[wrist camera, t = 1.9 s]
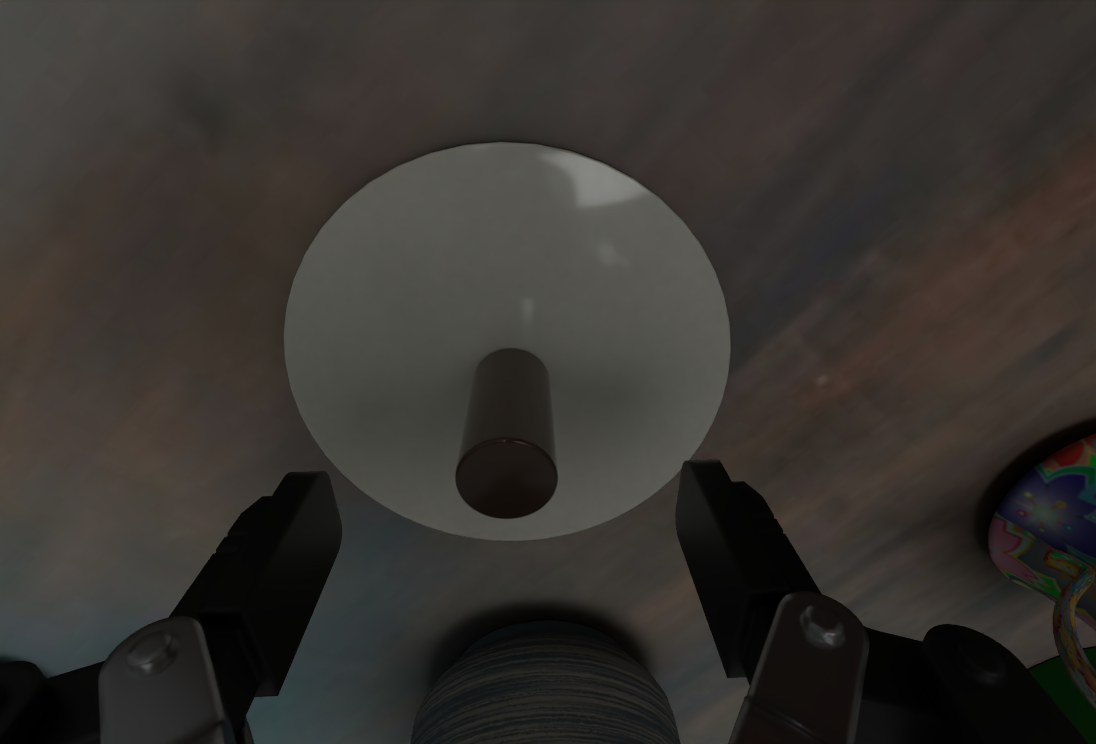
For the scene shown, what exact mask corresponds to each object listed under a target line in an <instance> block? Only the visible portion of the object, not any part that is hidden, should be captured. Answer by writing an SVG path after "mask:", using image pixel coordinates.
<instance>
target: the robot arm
mask: <svg viewBox="0 0 1096 744" xmlns="http://www.w3.org/2000/svg"><path fill="white" fill-rule="evenodd" d="M676 529H677V535H678V539H679V542H680V545H681V548H682V551H683V553H684V556H685V559H686V562H687V565H688V568H689V570H690V573H691V576H692V579H693V582H694V585H695V587H696V590H697V593H698V596H699V599H700V602H701V604H702V607H703V610H704V613H705V616H706V619H707V621H708V624H709V627H710V630H711V633H712V636H713V638H714V641H715V644H716V647H717V650H718V653H719V656H720V658H721V661H722V664H723V667H724V670H725V673H726V675H727V678H737V677H747V680H748V682H749V685H750V688H749V691H748V693H747V696H746V697H745V698H744V701H743V703H742V706H741V709H740V712H739V714H738V717H737V720H736V723H735V726H734V729H733V731H732V734H731V737H730V740H729V743H728V744H1088V742H1087V741H1086V740H1085V739H1084V737H1083V736H1082V735H1081V734H1080V733H1079V731H1078V730H1077V729H1076V728H1075V727H1074V725H1073V724H1072V723H1071V722H1070V721H1069V719H1068V718H1067V717H1066V716H1065V714H1064V713H1063V712H1062V711H1061V710H1060V708H1059V707H1058V706H1057V705H1056V704H1055V702H1054V701H1053V700H1052V699H1051V698H1050V696H1049V695H1048V694H1047V693H1046V691H1045V690H1044V689H1043V688H1042V687H1041V685H1040V684H1039V683H1038V682H1037V681H1036V679H1035V678H1034V677H1033V676H1032V675H1031V673H1030V672H1029V671H1028V670H1027V669H1026V667H1025V666H1024V665H1023V664H1022V663H1021V662H1020V661H1019V659H1018V658H1017V657H1016V656H1014V655H1013V654H1012V653H1011V652H1010V651H1009V650H1008V649H1006V648H1005V647H1004V646H1002V645H1001V644H1000V643H998V642H996V641H995V640H993V639H992V638H990V637H988V636H986V635H984V634H982V633H980V632H978V631H975V630H973V629H970V628H967V627H964V626H959V625H952V624H943V625H938V626H935V627H933V628H931V629H930V630H929V631H928V632H927V633H926V635H925V637H924V639H923V641H918V640H914V639H909V638H905V637H901V636H897V635H893V634H889V633H884V632H880V631H877V630H873V629H870V628H867V627H865V626H863V625H862V623H861V622H860V620H859V619H858V618H857V617H856V616H855V615H854V614H853V613H852V612H851V611H850V610H849V609H848V608H847V607H845V606H844V605H843V604H841V603H839V602H838V601H836V600H834V599H832V598H830V597H828V596H825V595H823V594H821V592H820V591H819V589H818V587H817V586H816V584H815V582H814V581H813V579H812V577H811V576H810V574H809V572H808V571H807V569H806V567H805V566H804V564H803V562H802V561H801V559H800V558H799V556H798V554H797V553H796V551H795V549H794V548H793V546H792V544H791V543H790V541H789V539H788V538H787V536H786V534H783V529H782V528H781V526H780V525H779V523H778V521H777V520H776V519H774V515H773V513H772V511H771V510H770V508H769V506H768V505H767V503H766V501H765V500H764V498H763V497H762V496H761V495H760V494H759V493H757V492H756V491H755V490H754V489H753V488H751V487H750V486H749V485H748V484H746V483H745V482H744V481H743V482H732V481H731V480H730V478H729V476H728V474H727V472H726V470H725V469H724V467H723V465H722V463H721V462H720V461H719V460H687V461H684V463H683V465H682V470H681V477H680V484H679V492H678V499H677V506H676ZM227 534H228V535H227V537H224V539H223V540H222V542H221V543H220V544H219V546H218V547H217V549H216V553H215V554H213V555H212V556H211V557H210V559H209V560H208V562H207V563H206V565H205V566H204V567H203V569H202V570H201V572H200V573H199V575H198V576H197V577H196V579H195V580H194V582H193V583H192V585H191V586H190V587H189V589H188V590H187V592H186V593H185V595H184V596H183V597H182V599H181V600H180V602H179V603H178V605H177V606H176V607H175V609H174V610H173V612H172V613H171V615H170V616H169V617H168V618H164V619H161V620H158V621H156V622H153V623H151V624H148V625H147V626H145V627H143V628H141V629H139V630H138V631H136V632H135V633H133V634H131V635H130V636H129V637H128V638H126V639H125V640H124V641H123V642H121V643H120V644H119V645H118V646H117V647H116V648H115V649H114V650H113V652H112V653H111V654H110V655H109V656H108V658H107V659H106V661H103V662H100V663H96V664H93V665H90V666H87V667H83V668H80V669H77V670H73V671H70V672H67V673H64V674H60V675H57V676H54V677H50V678H47V679H46V677H45V676H44V675H43V674H42V672H41V671H40V670H39V668H38V667H37V666H36V665H35V664H33V663H31V662H26V661H14V662H8V663H4V664H1V665H0V744H254V741H253V737H252V734H251V730H250V726H249V723H248V721H247V718H246V714H247V712H248V710H249V708H250V705H251V703H252V701H253V699H254V697H265V696H278V695H279V692H280V690H281V687H282V685H283V683H284V680H285V678H286V675H287V673H288V671H289V668H290V666H291V664H292V661H293V659H294V656H295V654H296V652H297V649H298V647H299V645H300V642H301V640H302V637H303V635H304V633H305V630H306V628H307V626H308V623H309V621H310V618H311V616H312V614H313V611H314V609H315V607H316V604H317V602H318V599H319V597H320V595H321V592H322V590H323V587H324V585H325V583H326V580H327V578H328V576H329V573H330V571H331V568H332V566H333V564H334V561H335V559H336V557H337V554H338V552H339V549H340V545H341V539H342V525H341V520H340V516H339V512H338V508H337V504H336V500H335V497H334V493H333V489H332V485H331V481H330V478H329V476H328V474H327V473H326V472H325V471H313V472H290V473H288V474H286V475H285V477H284V478H283V480H282V481H281V483H280V484H279V486H278V487H277V489H276V490H275V492H274V494H273V495H272V496H262V497H261V498H260V499H259V500H257V501H256V502H255V503H254V504H252V505H251V506H250V507H249V508H247V509H246V510H245V511H244V512H242V513H241V514H240V516H239V517H238V519H237V520H236V522H235V523H234V524H233V526H232V527H231V529H230V530H229V532H228V533H227Z"/></svg>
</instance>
